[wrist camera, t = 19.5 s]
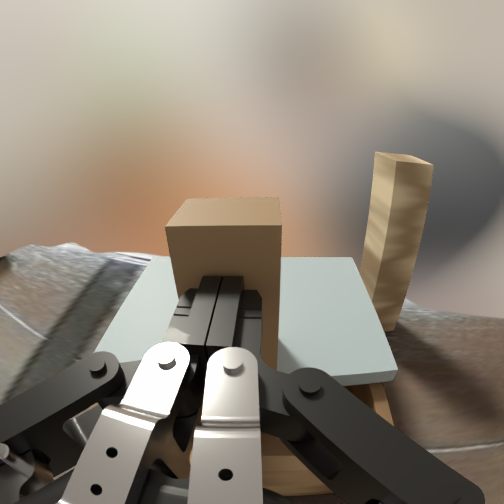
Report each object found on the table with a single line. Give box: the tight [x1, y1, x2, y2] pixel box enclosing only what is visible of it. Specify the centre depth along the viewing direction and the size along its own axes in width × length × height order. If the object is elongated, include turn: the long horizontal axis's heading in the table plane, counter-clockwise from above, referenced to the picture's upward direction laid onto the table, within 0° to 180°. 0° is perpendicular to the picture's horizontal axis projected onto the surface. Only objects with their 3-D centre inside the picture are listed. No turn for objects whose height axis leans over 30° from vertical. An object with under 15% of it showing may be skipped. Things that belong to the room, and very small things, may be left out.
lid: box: [94, 197, 398, 386], centre depth 17 cm, size 17×12×9 cm
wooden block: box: [359, 152, 433, 332], centre depth 23 cm, size 4×4×16 cm
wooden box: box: [88, 382, 394, 496], centre depth 20 cm, size 16×18×6 cm
